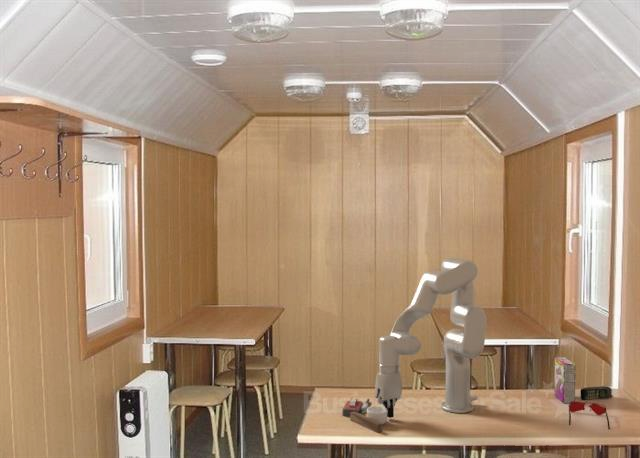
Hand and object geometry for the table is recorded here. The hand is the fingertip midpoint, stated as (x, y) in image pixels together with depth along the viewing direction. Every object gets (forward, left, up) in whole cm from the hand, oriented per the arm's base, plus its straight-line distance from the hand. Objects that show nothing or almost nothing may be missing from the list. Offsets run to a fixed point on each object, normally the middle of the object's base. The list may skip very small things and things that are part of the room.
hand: (389, 416), depth 249 cm
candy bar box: (-75, +24, -2) cm, 78 cm away
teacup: (+6, 0, -1) cm, 6 cm away
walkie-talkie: (+3, -16, -2) cm, 17 cm away
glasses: (-61, +44, -2) cm, 75 cm away
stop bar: (+11, 0, -1) cm, 11 cm away
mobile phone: (-87, +31, -2) cm, 93 cm away
